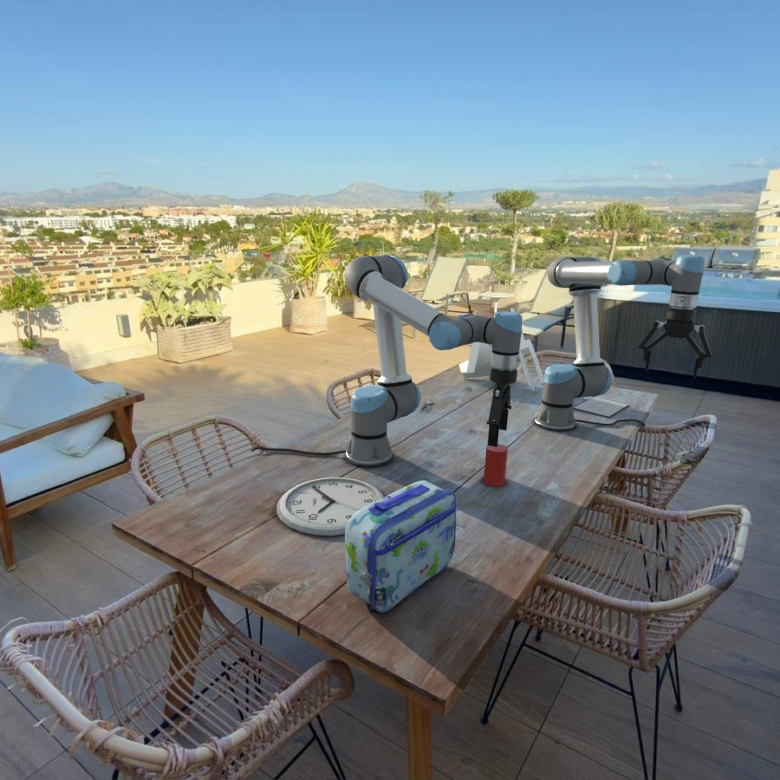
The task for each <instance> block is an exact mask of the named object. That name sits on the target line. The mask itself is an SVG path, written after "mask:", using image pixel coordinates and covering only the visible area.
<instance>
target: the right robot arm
mask: <svg viewBox="0 0 780 780" xmlns="http://www.w3.org/2000/svg"><path fill="white" fill-rule="evenodd" d="M705 261H706V259H705V257H704V256H702V255H688V254H685V255H684V254H681V255H677V257H676V260H675V261H673V260H664V259H650V260H649V259H648V260H647V259H646V260H645V259H644V260H643V259H642V260H637V259H636V260H633V259H632V260H631V259H630V260H628V259H621V260H603V261H602V260H601V259H600V258H598V257H593V256H562V257H558V258H556V259H554V260H553V261H552V262H551V263H550V264H549V266H548V268H547V273H546V276H547V279H548V281H549V283H550V284H551V285H553V286H554V287H555V288H560V289H568V295H569V296H571V297H572V298H573V315H574V319H573V320H574V338H575V353H576V359H574V361H573V362H572V364H571V363H556V364H552V365H549V366H548V367H547V368H546V369H545V371H544V374H543V377H544V378H543V380H544V382H543V386H542V394H541V402H540V405H539V407H538V410H537V411H536V412H535V414H534V424H535V425H536V426H537V427H539V428H542V429H544V430H549V431H556V432H567V431H572V430H574V429H575V428H576V422H577V423H585V424H590V425H597V426H606V427H610V426H615V425H617V423H623V422H625V423H626V422H635V423H639V424H640V425H642V426H643V427H646V423H644V422H643V421H641V420H639V419H633V418H629V419H628V418H626V419H617V420H615V421H614V422H612V423H605V422H604V423H603V422H594V421H588V420H584V419H583V420H582V419H576V418H575V417H576V416H575V413H574V407H573V405H574V399H578V398H579V399H580V398H594V397H599V396H603V395H605V394H606V393H608V391H609V390H610V388H611V386H612V383H613V374H612V372H611V369H610V367H608V366H606V365H605V360H604V359H602V358H601V351H600V350H601V349H600V331H599V311H598V294H599V293H600V292H602V286H604V285H611V286H613V285H614V286H620V287H623V286H624V287H625V286H659V285H660V286H669V287H671V290H670V295H669V301H668V305H669V307H668V308H667V313H666V319H665V322H663V321H660V320H655V321H654V323H653V326H652V328H651V330H650V331H649V332H648V334H647V335H646V336H645V337H644V339H643V340H642V341H641V342H640V344H639V345H638V348H639V349H641V350H643V356H642V361H643V362H645V367H644V372H645V373H648V372H649V369H650V364H651V358H652V352H653V351H652V350H651V349H653V348H654V347H655V346H656V345H658V344H659V343H661V341H663V340H664V339H665V338H667V337H668V336H669V337H670V338H677V339H681V340H682V339H684V338H685V339H686V341H687V342H688V343H689V345H690V346H691V348H692V349H693V350H694V351H695V354H697V356H696V358H695V363H694V369H693V374H692V380H696V379H697V374H698V370H699V369H702V368H703V365H704V361H705V359H707V358H711V357H712V355H713V353H712V350H711V347H710V344H709V342H708V339H707V336H706V333H705V325H704V324H701V325H695V323H694V322H695V317H696V312H697V310H696V308H697V306H698V301H699V296H700V290H701V285H702V280H703V276H704V272H705ZM662 327H663V329H664V332H663V333H662V334H661V335H660V336H658V337H657V338H655V339H654V340H653V341H652V342H651V343H649V344H648V342H649V340H650V339H651V338H652V337H653V336H654V334H655V333H656V331H657V330H659V329H661V328H662ZM694 330H695V331H696V333H698V335H699V339H700V341H701V344H702V346H703V349H704V351H703V350H702V349H701V347H700V346H699V344H698V342H697V341H696V340H695V339H694V337H693V335H692V334H691V333H692V332H693V331H694ZM646 344H648V345H646Z"/></svg>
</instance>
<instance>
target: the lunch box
mask: <svg viewBox="0 0 780 780" xmlns="http://www.w3.org/2000/svg"><path fill="white" fill-rule="evenodd" d="M456 531H457V499H456V495H455V493H454V492H453V490H450V489H442V488H440V487H439V486H437V485H435V484H433V483H432V482H430V481H428V480H418V481H416V482H413V483H410V484H409V485H406V486H405V487H402V488H400V489H398V490H396V491H394V492H392V493H390V494H388V495H385V497H384V498H382V499H380V500H378V501H376V502H374V503H372V504H370V505H368V506H366V507H364V508H362V509H360V510H358V511H357V512H355V513H354V514H353V515H352V517H351V518H350V520H349V522H348V524H347V527H346V531H345V534H344V552H345V577H346V578H345V580H346V586H347V589H348V592H349V593H350V594H352V595H354V596H356V597H357V598H359V599H361V600H363V602H365V603H367V604H368V605H370V607H371V608H372V609H373V610H375V611H376V612H378V613H380V614H382V613H383V614H385V613H387V612H389V611H391V609H393V608H394V607H395V606H396V605H397V604H400V602H401V601H402V600H404V599H406V597H409V596H410V595H411V594H412V593H414V592H415V591H416V590H417V589H418V588H420V587H421V586H422V585H423V584H424V583H425V582H427V581H428V580H430V579H432V578H433V577H434V576H436V575H437V574H439V573H441V572H442V571H443V570H445V568H446V567H447V566H448V564H449V563H450V561H451V560H452V557H453V554H454V551H455V548H456V547H455V546H456Z"/></svg>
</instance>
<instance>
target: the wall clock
mask: <svg viewBox="0 0 780 780" xmlns="http://www.w3.org/2000/svg"><path fill="white" fill-rule="evenodd" d="M384 497H386V495H385V494H384V493H383V492H382V491H381V490H380V489H379V488H377V487H376V486H374V485H372V484H371V483H369V482H365V481H362V480H359V479H355V478H349V477H338V476H337V477H335V476H333V477H332V476H331V477H322V478H317V479H312V480H307V481H305V482H302V483H299V484H297V485H295V486H293V487H292V488H290V489H288V490H287V491H286V492H285V493H284V494H283V495H281V496H280V498H279V499H278V502H277V503H276V515H277V517H278V518H279V520H280V521H281V522H282V523H283V524H285V525H286V526H287V527H288V528H290V529H293V530H295V531H297V532H299V533H303V534H308V535H312V536H327V537H328V536H329V537H331V536H332V537H333V536H342V535H345V531H346V527H347V524H348V522H349V520H350V518H351V517H352V515H353V514H354V513H355V512H357V511H358V510H360V509H362V508H364V507H366V506H368V505H370V504H372V503H374V502H376V501H378V500H380V499H382V498H384Z"/></svg>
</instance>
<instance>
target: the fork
mask: <svg viewBox="0 0 780 780" xmlns="http://www.w3.org/2000/svg"><path fill="white" fill-rule="evenodd" d="M434 399H435V396H429V397H428V398H427V399H426V403H425V404H424V405H423V406H422V407H421V409H420V411H423V410H424V409H426V408H427V407H428V405H430V404H433V402H434Z"/></svg>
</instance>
